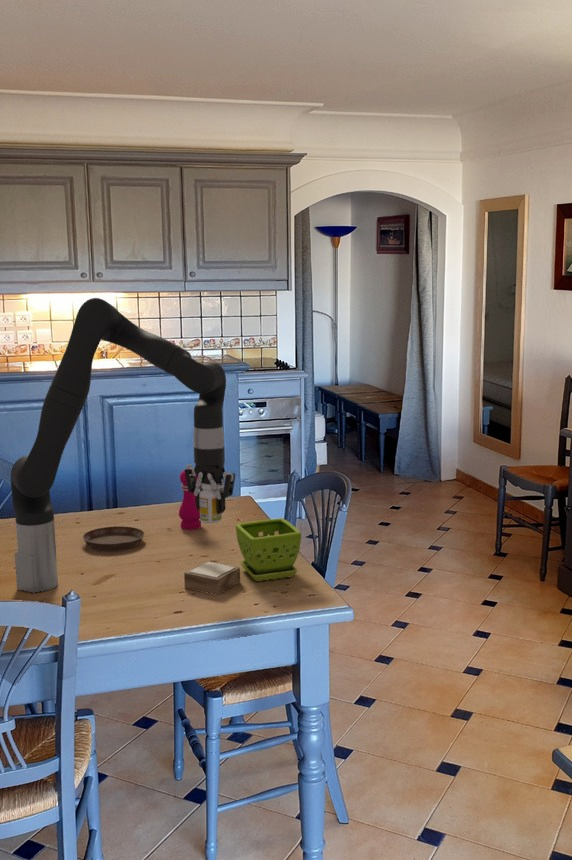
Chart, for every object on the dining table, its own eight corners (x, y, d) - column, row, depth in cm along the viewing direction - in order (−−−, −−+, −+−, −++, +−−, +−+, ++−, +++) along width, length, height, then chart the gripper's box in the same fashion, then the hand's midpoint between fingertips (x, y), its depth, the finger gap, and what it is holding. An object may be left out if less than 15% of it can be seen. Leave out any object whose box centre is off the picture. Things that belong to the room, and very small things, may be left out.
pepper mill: (175, 529, 265) (173, 466, 261) (184, 522, 272) (183, 460, 268) (197, 531, 263) (195, 467, 259) (206, 524, 270) (204, 462, 266)
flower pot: (235, 569, 230) (234, 523, 227) (284, 562, 234) (283, 517, 232) (251, 586, 217) (251, 538, 214) (303, 579, 222) (303, 531, 219)
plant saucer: (122, 531, 264) (121, 521, 264) (156, 544, 252) (156, 533, 251) (71, 544, 252) (70, 534, 252) (105, 558, 240) (104, 547, 239)
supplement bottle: (222, 517, 218) (221, 479, 216) (221, 523, 212) (220, 485, 210) (200, 517, 217) (199, 480, 216) (199, 523, 212) (198, 485, 210)
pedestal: (217, 595, 211) (217, 578, 210) (184, 588, 216) (184, 571, 215) (240, 582, 219) (239, 566, 219) (208, 575, 224) (207, 560, 224)
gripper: (176, 444, 212) (178, 511, 215) (224, 450, 204) (226, 519, 208) (194, 439, 218) (196, 504, 221) (241, 444, 211) (243, 511, 214)
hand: (210, 511), depth 214 cm, fingers closed on supplement bottle, 5 cm apart
